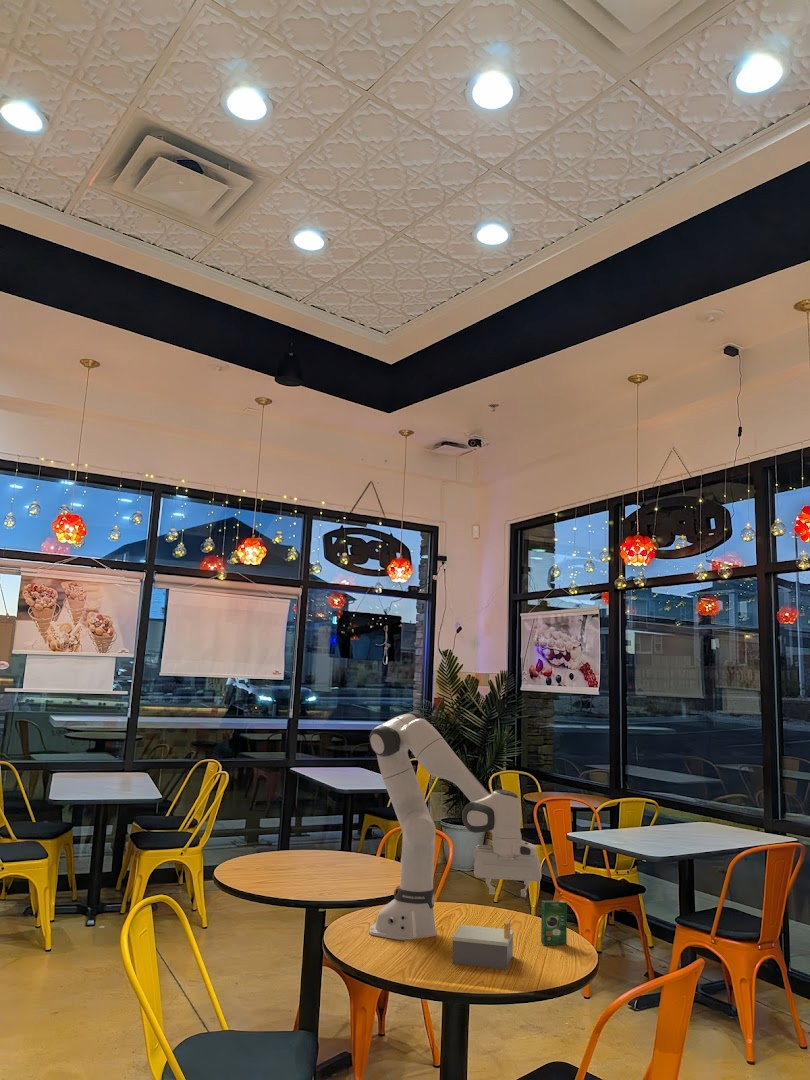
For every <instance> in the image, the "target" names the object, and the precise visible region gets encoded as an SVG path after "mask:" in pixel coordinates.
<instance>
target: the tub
mask: <svg viewBox="0 0 810 1080" xmlns="http://www.w3.org/2000/svg"><path fill="white" fill-rule="evenodd" d="M513 938H514V937H513V936H512V938H511V940H510V943H509V945H508V946H499V945H489V944H480V943H471V942H462V941H453V940H452V959H451V961H452V965H453V964H454V965H461V966H462V965H463V966H469V967H470V966H472V967H480V968H488V969H496V970H504V971H508V968H509V966H510V964H511V961H512V958H513V957H514V953H513V951H514V950H513V948H514V947H513V946H514V945H513V944H514V942H513V941H514V939H513Z"/></svg>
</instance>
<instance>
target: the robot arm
mask: <svg viewBox="0 0 810 1080" xmlns="http://www.w3.org/2000/svg"><path fill="white" fill-rule="evenodd" d="M443 737H444V736H442V735H441V734H440V732H439V731H438V730H437V729H436V728H435V727H434V726H433V725H432V724H431V723H430V722H429V721H428V720H426V718H425V717H424V716H423V715H422V714H421V713H420V712H419V711H409V712H405V714H400V715H398V716H395V717H392V718H391V719H388V720H387V721H385V722H384V723H382V724H379V725H377V726H376V727H374V728H373V729H372V730H371V731H370V733H369V744H370V749H372V751H373V752H374V754H376V757H377V758H376V759H377V762H378V767H379V771H380V774H381V777H382V781H383V782H384V787H385V788H386V792H387V793H388V796H389V798H390V803H391V804H392V807H393V809H394V812H395V815H396V818H397V821H398V824H399V826H400V828H401V833H402V843H401V856H400V857H401V858H400V878H399V879H400V880H399V881H400V882H399V883H400V884H399V885H397V886H396V887H395V889H394V890H393V896H394V898H393V899H392V900H391V901H390V902H388V903H387V904H385V906H383V907H382V908H381V909H380V910H379V912H378V913H377V917H376V922H375V923H373V924H372V925H371V926H370V927H369V930H368V933H369V934H370V935H371V936H376V937H381V938H387V939H392V940H399V941H403V942H405V940H409V941H410V940H416V939H425V938H430V937H437V935H438V933H437V927H436V922H435V914H434V905H435V897H436V896H435V888H434V862H435V849H436V828H437V827H436V823H435V821H434V820H433V818H432V816H431V814H430V811H429V808H428V806H427V805H428V804H427V802H426V800H425V797H424V794H423V791H422V788H421V785H420V783H419V780H418V778H417V775H416V772H415V769H414V767H413V764H412V762H411V759H410V757H409V750H410V752H411V753H412V755H413V757H415V759H416V760H417V762H418V763H419V764H420V766H421V767H422V768H423V769H424V770H425V771H426V772H427V773H428V774H429V775H430V776H432V777H434V778H435V777H436V778H439V779H440V778H441V779H444V780H447V781H449V782H451V783H453V784H454V785H455V786H456V787H458V788H459V790H460V791H461V792H462V793H463V794H464V795H465V797H466V798H467V799H468V800H469V801H470V802H469V803H467V804H465V806H464V807H463V810H462V813H461V819H462V823H463V825H464V827H465V829H467V830H468V831H469V832H471V833H473V834H474V833H476V834H481V833H482V834H483V833H485V832H490V833H491V834H492V835H491V836H492V837H491V838H492V839H491V841H492V843H491V844H492V845H490V844H489V845H488V844H486V845H485V844H477V846H475V847H474V848H473V850H472V851H473V858H474V865H473V875H474V877H476V878H477V879H478V878H481V879H485V884H486V885H487V887H488V889H489V890H488V891H489V893H488V894H489V895H495V893H496V891H495V890H496V887H494V886H493V885H492V884H491V881H492V879H494V880H495V879H496V880H508V881H510V880H511V881H521V882H524V883H523V884H524V885H525V887H524V888H523V889H520V897H522V898H526V897H527V890H528V887H529V886H530V883H531V882H535V883H536V882H539V881H541V880H542V867H541V861H540V860H541V859H540V857H539V855H538V854H536V853H537V846H536V845H535V844H534V843H533V844H532V843H530V842H528V841H525V840H523V839H522V833H521V825H522V811H521V809H522V808H521V802H520V797H519V795H517V794H516V793H515V792H513V791H510V790H507V789H496V790H494V791H493V792H492V793H491V792H490V791H488V790H487V789H486V788H485V787H484V785H483V784H482V783H481V782H480V781H479V779H478V778H477V777H476V776H475V775H474V773H473V772H471V770H470V769H469V768H468V766H466V765H465V764H464V763H463V761H462V760H461V759H460V758H459V757H458V755H457V754H456V753H455V752H454V750H453V749H452V747H450V745H449V744H448V742H447V741H446V740H445V738H443Z"/></svg>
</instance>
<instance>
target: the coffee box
mask: <svg viewBox="0 0 810 1080" xmlns="http://www.w3.org/2000/svg"><path fill="white" fill-rule="evenodd" d="M567 914H568V904H567V901H565V900H541V922H540V924H541V926H540V927H541V928H540V929H541V930H540V931H541V932H540V933H541V936H540V938H541V939H540V942H541V943H542V944H541V945H542V946H548V945H550V946H567V941H568V939H567V938H568V937H567V935H568V933H567V932H568V929H567V926H568V925H567V921H568V919H567V918H568V917H567V916H568V915H567Z"/></svg>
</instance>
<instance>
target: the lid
mask: <svg viewBox="0 0 810 1080" xmlns="http://www.w3.org/2000/svg"><path fill="white" fill-rule="evenodd" d="M513 935H514V930H513V929H511V919H510V918H506V919H505V921H504V922H503V928H497V927H486V926H478V925H477V926H476V925H466V924H460V925H459V926H458V928H457V929H456V930H455V932H454V933H453V934H452V936H451V941H452V942H453V941H462V942H471V943H480V944H489V945H499V946H508V945H509V943H510V940H511V938H512V936H513Z"/></svg>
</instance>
